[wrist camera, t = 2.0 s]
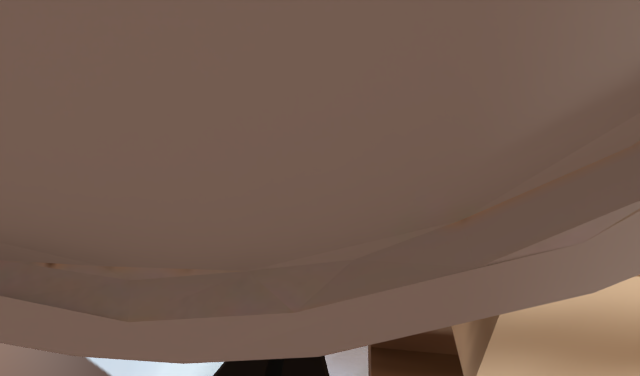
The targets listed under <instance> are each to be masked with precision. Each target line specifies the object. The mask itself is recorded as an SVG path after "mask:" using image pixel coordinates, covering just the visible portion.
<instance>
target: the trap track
mask: <svg viewBox="0 0 640 376" xmlns="http://www.w3.org/2000/svg"><path fill="white" fill-rule="evenodd" d="M368 366H369V376H464V375H463V371H462V367H461V363H460V359H459V355H458V351H457V347H456V343H455V338H454V334H453V330H452V326H449V327H445V328H441V329H436V330H432V331H428V332H423V333H419V334H415V335H411V336H406V337H402V338H398V339H393V340H389V341H385V342H380V343H376V344H372V345H369V346H368Z"/></svg>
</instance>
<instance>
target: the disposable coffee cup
mask: <svg viewBox="0 0 640 376" xmlns="http://www.w3.org/2000/svg"><path fill="white" fill-rule="evenodd" d="M639 274H640V0H0V343H4V344H10V345H15V346H21V347H26V348H32V349H37V350H43V351H48V352H54V353H59V354H65V355H71V356H80V357H94V358H109V359H124V360H138V361H153V362H168V363H183V364H185V363H205V362H224V361H244V360H264V359H284V358H304V357H320V356H324V355H329V354H333V353H337V352H342V351H346V350H350V349H354V348H359V347H363V346H367V345H372V344H376V343H380V342H385V341H389V340H393V339H398V338H402V337H406V336H411V335H415V334H419V333H423V332H428V331H432V330H436V329H441V328H445V327H449V326H454V325H458V324H462V323H467V322H471V321H475V320H480V319H484V318H488V317H492V316H497V315H501V314H505V313H510V312H514V311H518V310H523V309H527V308H531V307H536V306H540V305H544V304H548V303H553V302H557V301H561V300H566V299H570V298H574V297H579V296H583V295H587V294H592V293H595V292H597V291H600V290H602V289H605V288H607V287H610V286H612V285H615V284H617V283H620V282H622V281H625V280H627V279H630V278H632V277H634V276H637V275H639Z"/></svg>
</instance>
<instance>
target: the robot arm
mask: <svg viewBox="0 0 640 376" xmlns="http://www.w3.org/2000/svg"><path fill="white" fill-rule="evenodd" d="M213 376H329V373H328V369H327V365H326V361H325V356H320V357H304V358H284V359H264V360H244V361H225V362H224V363H223V364H222V366H221V367H220V368H219V369H218V370H217V372H216V373H215V374H214V375H213Z"/></svg>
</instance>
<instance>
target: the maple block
mask: <svg viewBox="0 0 640 376" xmlns="http://www.w3.org/2000/svg"><path fill="white" fill-rule="evenodd" d="M452 330H453V334H454V338H455V343H456V347H457V351H458V355H459V359H460V363H461V367H462V371H463V375H464V376H640V274H639V275H637V276H634V277H632V278H630V279H627V280H625V281H622V282H620V283H617V284H615V285H612V286H610V287H607V288H605V289H602V290H600V291H597V292H595V293H592V294H587V295H583V296H579V297H574V298H570V299H566V300H561V301H557V302H553V303H548V304H544V305H540V306H536V307H531V308H527V309H523V310H518V311H514V312H510V313H505V314H501V315H497V316H492V317H488V318H484V319H480V320H475V321H471V322H467V323H462V324H458V325H454V326H452Z"/></svg>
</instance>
